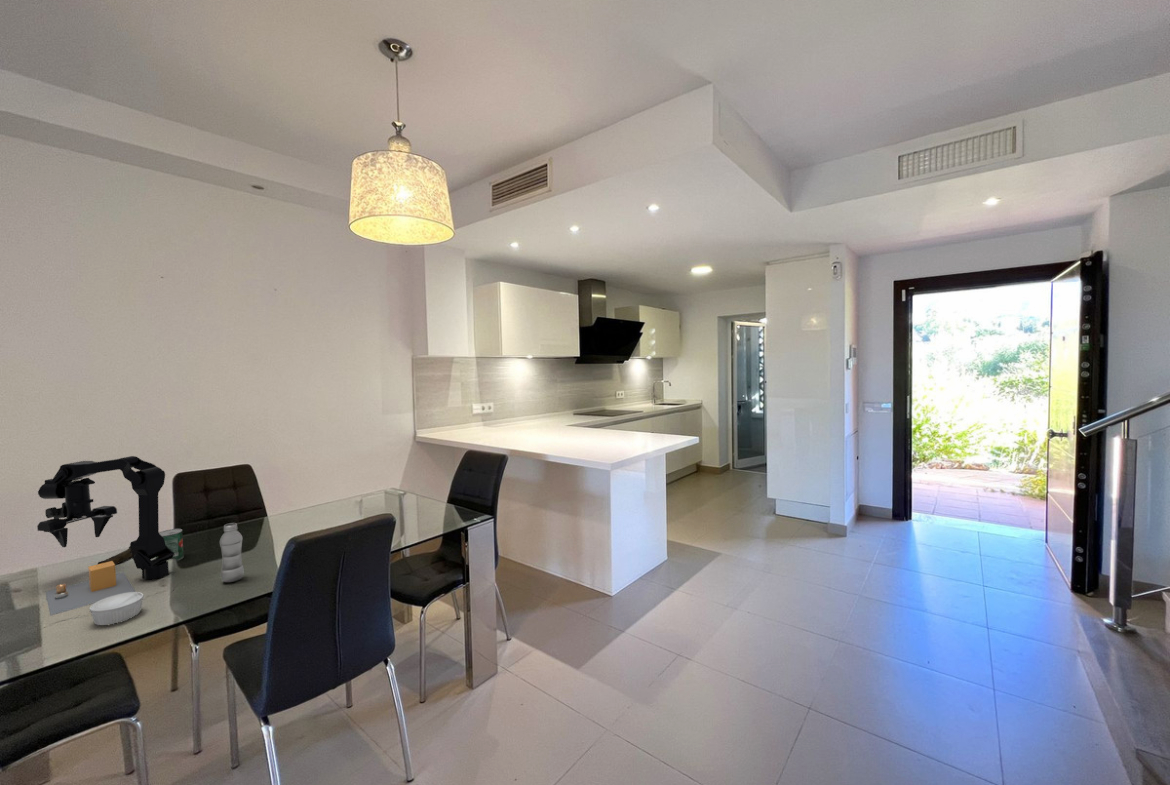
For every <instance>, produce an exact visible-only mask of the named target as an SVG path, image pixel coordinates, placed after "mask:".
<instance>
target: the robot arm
mask: <svg viewBox="0 0 1170 785" xmlns="http://www.w3.org/2000/svg"><path fill="white" fill-rule="evenodd" d="M132 468H133V469H132ZM134 469H135V470H136V471H135V470H134ZM118 470H120V471H121V472H122V475H123V477H124V479H125V480H127V481H129V482H130V484H131V488H132V490H133V491H134V492H135V493H136V495H137V496H138V498H137V499H138V537H137V538H136V540H133V541H131V542H130V543H129V547H131V551H130V554H132V557H131V559H132V560H133V562H134V563H133V564H134V565H135V567H136V569H140V570H141V578H142V579H143V580H144V581H155V580H161V579H163V578H165V577H168V576H169V573H170V572H169V560H173V559H174V558H173V556H174V552H172V551H171V550H170V549H169V548H168V547H167V546H166V545H165V540H164V538H163V537H162V536H161V535H160V534H159V532H160V531H159V528H160V527H159V492H160V491H161V489H162V488H163V486H164V483H165V480H166V472H165V471H164V470H163V469H162V468H160V467H159V466H157V465H156V464H154V463H151V462H148V461H145V460H142V459H141V458H140V457H138V456H134V455H131V456H125V457H120V458H117V459H116V458H115V459H109V460H107V459H106V460H102V461H93V460H82V461H81V460H80V461H75V462H70V463H65V464H62V465H61V464H60V466H59V469H58V471H57V472H56V474H54V476H53V478H50V479H44V483H43V484H42V485H41V486H40V487H39V489H38V491H37V495H38V497H40V498H41V499H43V500H49V499H50V500H52V499H55V500H56V499H58V500H59V499H60V500H62V499H64V502H61V503H62V504H61V507H59V508H57V507H55V506H53V507H50V508H46V509H45V511H44V512H45V517H46V518H47V519H46V520H43V521H39V523H38V524H37V531H38V532H44V533H50V534H51V535H53V537H54V539H56V540H57V542H58V543H59V545H60V546H61V548H67V546H68V530H69V529H68V527H66V526H67V525H68V524H71V523H75V522H79V521H82V520H87V519H91V520H92V522H93V527H94V528H93V530H94V536H95V538H99V537H100V536H101V534H102V532H103V531H104V529H105V526H106V525H107V524H108V523H109V521H110V520H111V518H113V517H114V515H117V514H118V508H117V507H116V506H114V505H103V506H99V507H95V508H92V506H91V504H92V503H93V502H94V498H91V493H90V492H91V491H90V485H95V484H96V481H94V480H92V479H91V478H90V476H94V475H95V474H97V473H103V472H105V473H106V472H111V471H118ZM157 556H158V558H156V557H157ZM172 558H173V559H172Z"/></svg>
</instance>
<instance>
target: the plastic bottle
mask: <svg viewBox="0 0 1170 785" xmlns="http://www.w3.org/2000/svg"><path fill="white" fill-rule="evenodd" d="M223 532H224V533H223V534H222V535H221V537H220V539H219V547H220V551H221V556H222V557H221V559H222V560H221V561H222V562H221V563H222V564H221V571H220V580H221V581H222V582H223V583H233V582H237V581H239V580H241V579H243V577H244V575H245V569H244V566H243V560H242V546H243V535H242V533H240V532H239V530H238V524H237V522H230V523H226V524H224V525H223Z"/></svg>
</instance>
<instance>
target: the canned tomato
mask: <svg viewBox="0 0 1170 785" xmlns="http://www.w3.org/2000/svg"><path fill="white" fill-rule="evenodd" d="M159 534H160V535H161V536H162V537H163V538H164V540H165V545H166V546H167V547H168V548H169V549H170V550H171V551H172V552H174V556H173V558H172V559H171V560H173V559H175V560H176V561H181V560H183V558H185V557H184V545H183V544H184V540H183V538H184V537H183V529H181V528H171V529H165V530H162V531H159ZM156 558H158V556H157V557H155V559H156Z"/></svg>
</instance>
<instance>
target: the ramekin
mask: <svg viewBox="0 0 1170 785" xmlns="http://www.w3.org/2000/svg"><path fill="white" fill-rule="evenodd" d="M144 598H145V595H144V593H142V592H140V591H136V592H128V593H122V594H118V595H114V596H111V597H107V598H105V599H102V600H100V601H98V602H96V603H94V604H91V605H90V607H89V613H90V614H91V617H92V620H93V624H95V625H97V626H99V625H108V624H113V625H115V624H114V623H117V622H121V621H124V620H126V621H128V620H127V619H129V618H131V617H133V616H135V615H136V616H137V615H138V614H139V613H140V612H141V610H142V605H143V600H144ZM136 616H135V617H136ZM133 618H134V617H133ZM131 619H132V618H131ZM129 620H130V619H129ZM124 622H125V621H124ZM121 623H122V622H121ZM117 624H118V623H117ZM108 626H109V625H108Z"/></svg>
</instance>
